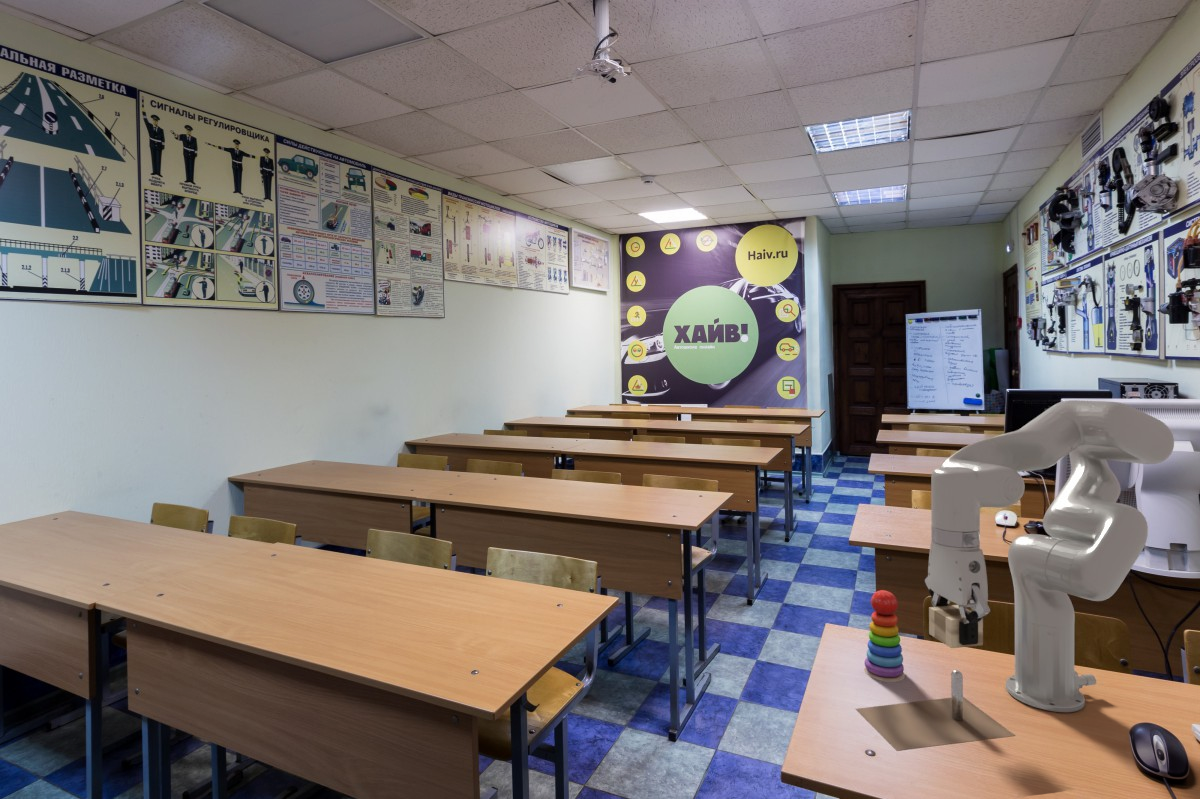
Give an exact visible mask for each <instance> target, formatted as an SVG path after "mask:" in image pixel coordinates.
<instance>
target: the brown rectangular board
mask: <svg viewBox="0 0 1200 799" xmlns="http://www.w3.org/2000/svg"><path fill="white" fill-rule="evenodd" d="M855 710H856V712H858V714H860V715H861V716H862V717H863V718H864V720H865V721H867V722H868V723H869V724H870V725H871V726H872V728H874V730H875V731H877V733H878V734H879V735H880V736H882V738H883V739H884V740H885V741H886V742H887V743H888V744H889V745H890V746H891V747H892V748H893V749H894V750H895V751H896V752H898V751H906V750H907V751H908V750H915V749H921V748H922V749H923V748H930V747H937V746H945V745H954V744H961V743H968V742H977V741H985V740H992V739H1000V738H1008V737H1015V736H1016V735H1015V733H1013V732H1012V731H1010V730H1009V729H1007V728H1006V727H1005V726H1003V724H1001V723H999V722H998V721H997V720H996V719H994V718H992V716H990V715H989V714H987V713H986V712H985V711H983V710H982V709H980V708H979V707H977V706H976V705H975V704H974V703H973V702H971V701H970V700H968V699H967V698H966V697H964V696H963V721H956V720H954V719H952V703H951V697H944V698H937V699H929V700H928V699H927V700H919V701H912V702H911V701H910V702H903V703H894V704H886V705H878V706H877V705H876V706H869V707H867V706H866V707H860V708H859V707H858V708H855Z"/></svg>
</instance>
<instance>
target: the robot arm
mask: <svg viewBox="0 0 1200 799" xmlns="http://www.w3.org/2000/svg"><path fill="white" fill-rule="evenodd" d="M1174 438H1175V437H1174V435H1173V433H1172V430H1171V429H1170V427H1169V426H1168V425H1167V424H1166V423H1164V422H1163V421H1161V420H1160V419H1159V418H1156V417H1154V416H1152V415H1151V414H1148V413H1146V412H1144V411H1142V410H1140V409H1138V408H1136V407H1133V406H1131V405H1129V404H1125V403H1121V402H1117V401H1107V400H1106V401H1105V400H1104V401H1103V400H1079V399H1078V400H1075V399H1074V400H1064V401H1060V402H1057V403H1055V404H1054V405H1052V406H1050V407H1048V408H1047V409H1046V410H1044V411H1043V412H1042V413H1040V414H1039V415H1037V416H1036V417H1034V418H1033V419H1032V420H1030V421H1028V422H1027V423H1026V424H1025V425H1023V426H1022V427H1021V428H1019V429H1016V430H1014V431H1010V432H1006V433H1002V434H999V435H996V436H994V437H993V436H992V437H989V438H985V439H982V440H978V441H975V442H973V443H970V444H968V445H966V446H963V447H962V448H961V449H959V450H958V451H956V452H955V453H953V454H952V455H950V456H949V457H948V458H946V459H945V461H944V462H942V464H941V465H940V467H938V468H935V469H934V470H933V471H932V473H931V475H930V476H931V479H930V480H931V481H930V482H931V483H930V484H931V486H930V487H931V488H930V491H931V493H930V495H931V498H930V500H931V501H930V503H931V504H930V505H931V506H930V508H931V510H930V511H931V525H930V526H931V530H930V532H931V537H930V538H931V541H930V545H929V546H930V547H929V548H930V549H929V554H928V555H929V556H928V567H927V576H926V578H925V579H924V583H925V585H926V587H927V589H928V593H929V595H930V597H931V605H932V607H939V606H950V603H951V602H952V603H953V604H954V605H958V606H959V610H960V614H961V618H962V622H959V643H960V644H962V645H971V644H977V643H978V623H980V622H981V619H983V620H984V618H985V617H986V616H987V615H989V614H990V613H991V609H990V607H989V605H988V602H989V593H988V592H989V590H988V575H987V566H986V560H985V555H984V552H983V549H981V544H980V543H981V541H980V540H981V538H980V537H981V532H980V531H981V514H980V513H981V508H995V509H996V508H998V509H999V508H1007V507H1010V506H1014V505H1015V504H1017V503H1018V502H1019V501H1020V500H1021V498H1022V497H1023V495H1024V494H1025V487H1026V486H1025V482H1024V479H1023V477H1022V476H1021V474H1020V473H1019V472H1023V473H1024V472H1031V471H1038V470H1044V469H1049V468H1051V467H1052V466H1055V465H1056V464H1057V463H1058V462H1059V461H1061V460H1062V459H1064V458H1065V457H1067V456H1068V455H1069V463H1070V475H1069V477H1068V478H1067V481H1066V482H1065V484H1064V485H1063V487H1062V488H1061V489H1060V491H1059V492H1058V494H1057V495H1056V496H1055V498H1054V500H1052V502H1051V504H1050V505H1049V507H1048V508H1047V510H1046V512H1045V514H1044V516H1043V519H1042V526H1043V529H1044V531H1045V533H1046V534H1047V535H1046V534H1045V535H1044V534H1037V533H1024V534H1023V535H1020V536H1017V537H1016V538H1015V539H1013V541H1011V542H1010V543H1011V544H1010V545H1009V547H1008V554H1007V558H1008V566H1009V570H1010V571H1009V572H1010V573H1011V579H1012V584H1013V585H1012V586H1013V591H1014V592H1013V594H1014V675H1011V676H1009V677H1007V679H1006V680H1005V689H1006V690H1007V692H1008V694H1009V695H1011V697H1013V698H1015V699H1016V700H1017V701H1020V702H1021V703H1023V704H1026V705H1028V706H1030V707H1034V708H1036V709H1039V710H1040V709H1041V710H1043V711H1049V712H1055V713H1073V712H1078V711H1081V710H1082V709H1083V708H1084V707H1085V700H1086V699H1085V696H1084V694H1082V692H1081V691H1080V689H1082V688H1083V687H1084V686H1085V687H1086V686H1094V685H1097V679H1096V677H1095V676H1094V675H1093V674H1090V673H1088V674H1081V675H1079V673H1078V672H1077V671H1076V670H1075V623H1076V622H1075V619H1076V618H1075V615H1076V614H1075V610H1074V609H1075V608H1074V606H1073V604H1072V600H1071V599H1070V596H1069V595H1071V596H1075V597H1078V598H1082V599H1085V600H1089V601H1093V602H1094V601H1095V602H1102V601H1106V600H1107V599H1110V598H1111V597H1112V596H1113V595H1114V594H1115V593H1116V592H1117V591H1118V589H1119V588H1120V586H1121V585H1122V583H1123V582H1124V580H1125V578H1126V577H1127V575H1128V574H1129V572H1130V571H1131V569H1132V568H1133V566H1134V564H1135V563H1136V562H1137V560H1138V559H1139V557H1140V555H1141V554H1142V552H1143V550H1144V548H1145V546H1146V542H1147V540H1148V535H1149V530H1148V529H1149V526H1148V522H1147V519H1146V517H1145V516H1144V514H1143V513H1142V512H1141V511H1140V510H1138V508H1135V507H1133V506H1132V505H1128V504H1125V503H1120V502H1117V501H1118V499H1119V497H1120V495H1121V491H1122V490H1121V485H1120V484H1121V483H1120V482H1119V480H1118V478H1117V476H1116V475H1115V473H1114V471H1113V470H1112V469H1111V467H1110V466H1109V463H1108V461H1114V462H1115V461H1116V462H1123V463H1130V464H1131V463H1132V464H1133V463H1134V464H1141V465H1156V464H1161V463H1163V462H1164V461H1166V460H1167V459H1168V458H1169V457H1171V455H1172V453H1173V451H1174V447H1175V439H1174ZM1107 460H1108V461H1107ZM968 601H969V603H968ZM968 608H970V611H972V612H970V613H969V614H968V613H967V609H968Z"/></svg>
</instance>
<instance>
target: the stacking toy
mask: <svg viewBox="0 0 1200 799" xmlns="http://www.w3.org/2000/svg"><path fill="white" fill-rule="evenodd" d="M898 603H899V602H898V599H897V597H896V596H895V595H894V594H893V593H892V592H891V591H888V590H884V589H882V590H881V589H880V590H877V591H875V592H874V593H873V595H872V596H871V599H870V604H871V607H872V608H873V611H874V612H872V614H871V615H870V616H871V622H870V623H869V630H870V631H869V633H868V638H869V640H868V642H867V648H868V649H867V651H866V658H865V660H864V670H863V671H864V672H865V674H866V675H867V676H868V677H870V678H872V679H874V680H877V681H881V682H886V683H887V682H888V683H896V682H900V681H903V680H904V679H905V678H906V674H905V672H904V670H905V669H904V668H905V667H904V666H905V665H904V664H903V662H904V657H903V654H902V651H903V648H902V646H901V644H900V642H901V637H900V635H899V634H898V633H899V627H898V625H897V624H898V620H899V619H898V617H897V616H896V614H895V612H896V611H897V610H898V605H899V604H898Z"/></svg>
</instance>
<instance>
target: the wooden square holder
mask: <svg viewBox="0 0 1200 799" xmlns="http://www.w3.org/2000/svg"><path fill="white" fill-rule="evenodd" d="M966 609H967V613H968V614H969V613H970V612H972V611H971V609H968V608H966ZM928 620H929V621H928V632H929V633H928V635H930V636H932V637H933V638H935V639H936V640H937V641H940V642H941V643H943V644H944V645H945V646H947V647H949V648H950V649H957V648H958V649H959V648H967V647H968V648H970V647H978V646H983V645H984V630H983V629H984V618H983V619H981V622H980V623H978V643H977V644H971V645H962V644H960V643H959V622H962V618H961V614H960V610H959V606H958V605H957V604H952V605H950V604H949V605H948V606H939V607H935V606H930V607H928Z"/></svg>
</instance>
